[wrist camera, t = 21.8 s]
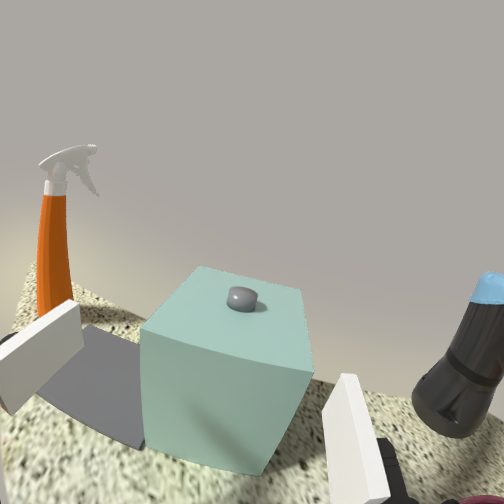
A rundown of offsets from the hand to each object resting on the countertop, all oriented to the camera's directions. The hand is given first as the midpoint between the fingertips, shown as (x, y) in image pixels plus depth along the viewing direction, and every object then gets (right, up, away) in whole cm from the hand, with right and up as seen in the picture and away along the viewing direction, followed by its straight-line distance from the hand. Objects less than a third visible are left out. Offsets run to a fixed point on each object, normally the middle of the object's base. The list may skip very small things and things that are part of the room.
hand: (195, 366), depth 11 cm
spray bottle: (-28, -5, +25) cm, 37 cm away
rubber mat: (-15, -10, +15) cm, 24 cm away
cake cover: (-1, -13, +15) cm, 20 cm away
